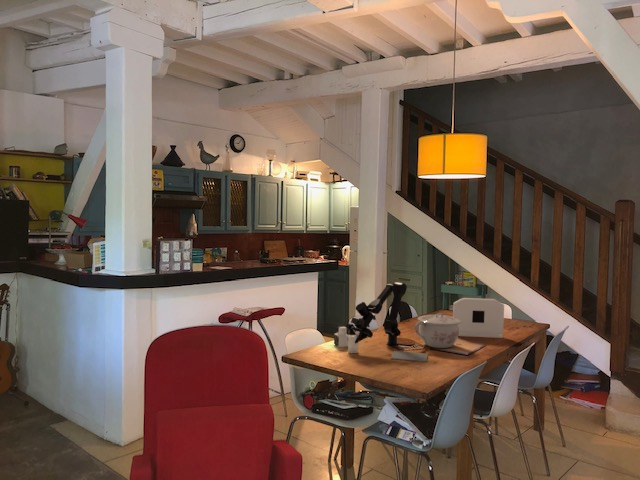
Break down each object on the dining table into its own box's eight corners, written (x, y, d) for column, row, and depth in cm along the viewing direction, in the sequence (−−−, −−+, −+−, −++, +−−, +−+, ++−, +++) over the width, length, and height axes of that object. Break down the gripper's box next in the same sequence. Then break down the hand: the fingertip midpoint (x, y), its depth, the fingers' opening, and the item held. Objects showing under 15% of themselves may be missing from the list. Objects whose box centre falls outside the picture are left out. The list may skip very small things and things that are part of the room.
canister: (349, 350, 315) (349, 334, 315) (359, 351, 314) (359, 335, 313) (347, 353, 309) (347, 336, 309) (357, 354, 308) (357, 337, 307)
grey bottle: (333, 344, 329) (334, 325, 328) (344, 343, 331) (344, 325, 331) (338, 347, 322) (338, 328, 321) (348, 346, 325) (349, 327, 324)
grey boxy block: (494, 330, 380) (496, 294, 378) (502, 338, 355) (504, 299, 354) (447, 328, 383) (448, 292, 381) (452, 336, 359) (453, 297, 357)
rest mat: (393, 351, 314) (393, 350, 314) (427, 354, 309) (427, 353, 309) (390, 359, 299) (390, 358, 299) (426, 362, 294) (426, 361, 294)
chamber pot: (461, 342, 341) (462, 310, 340) (460, 353, 314) (462, 318, 313) (417, 338, 348) (418, 307, 347) (413, 349, 322) (414, 315, 321)
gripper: (348, 310, 320) (334, 330, 314) (369, 315, 306) (355, 336, 299) (357, 321, 325) (343, 341, 319) (379, 327, 311) (365, 348, 305)
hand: (351, 341), depth 310 cm, fingers closed on canister, 6 cm apart
